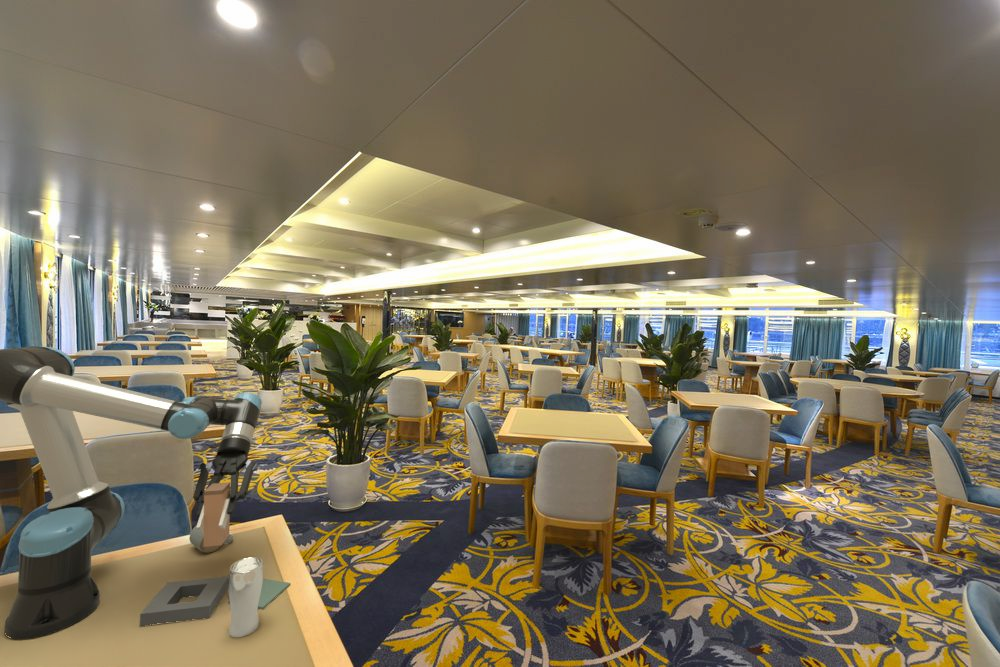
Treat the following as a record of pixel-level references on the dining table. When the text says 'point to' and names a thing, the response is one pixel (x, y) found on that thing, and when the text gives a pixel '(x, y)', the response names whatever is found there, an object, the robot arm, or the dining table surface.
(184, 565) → the dining table surface
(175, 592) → the socket block
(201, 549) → the ceramic mug
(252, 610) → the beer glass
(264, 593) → the mat
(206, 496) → the brown tall block
